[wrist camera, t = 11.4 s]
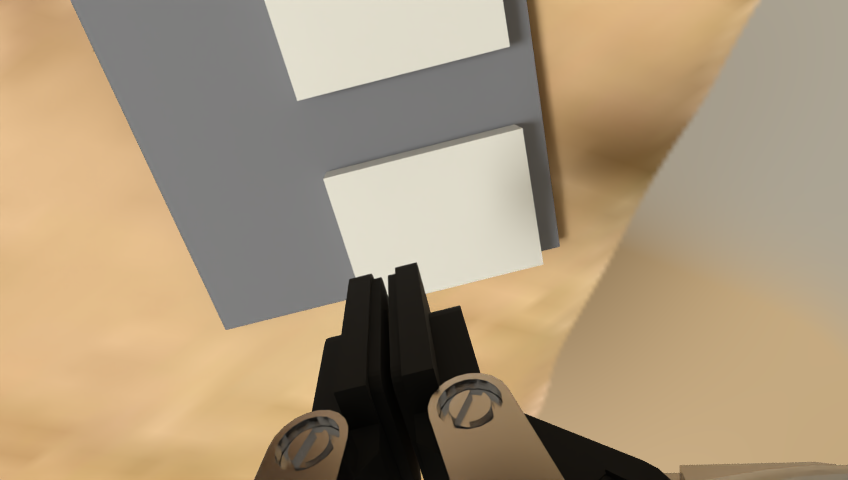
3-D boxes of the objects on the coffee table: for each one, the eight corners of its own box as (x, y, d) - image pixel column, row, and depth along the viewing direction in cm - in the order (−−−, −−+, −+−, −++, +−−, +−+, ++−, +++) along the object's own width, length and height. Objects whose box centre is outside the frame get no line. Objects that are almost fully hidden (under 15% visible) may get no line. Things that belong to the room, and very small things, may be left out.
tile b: (322, 178, 18) (522, 128, 18) (326, 171, 19) (513, 123, 19) (365, 308, 20) (543, 264, 20) (366, 294, 21) (534, 252, 21)
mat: (52, -59, 16) (40, -63, 16) (497, -175, 16) (501, -183, 15) (229, 322, 22) (225, 330, 21) (555, 241, 22) (559, 246, 21)
